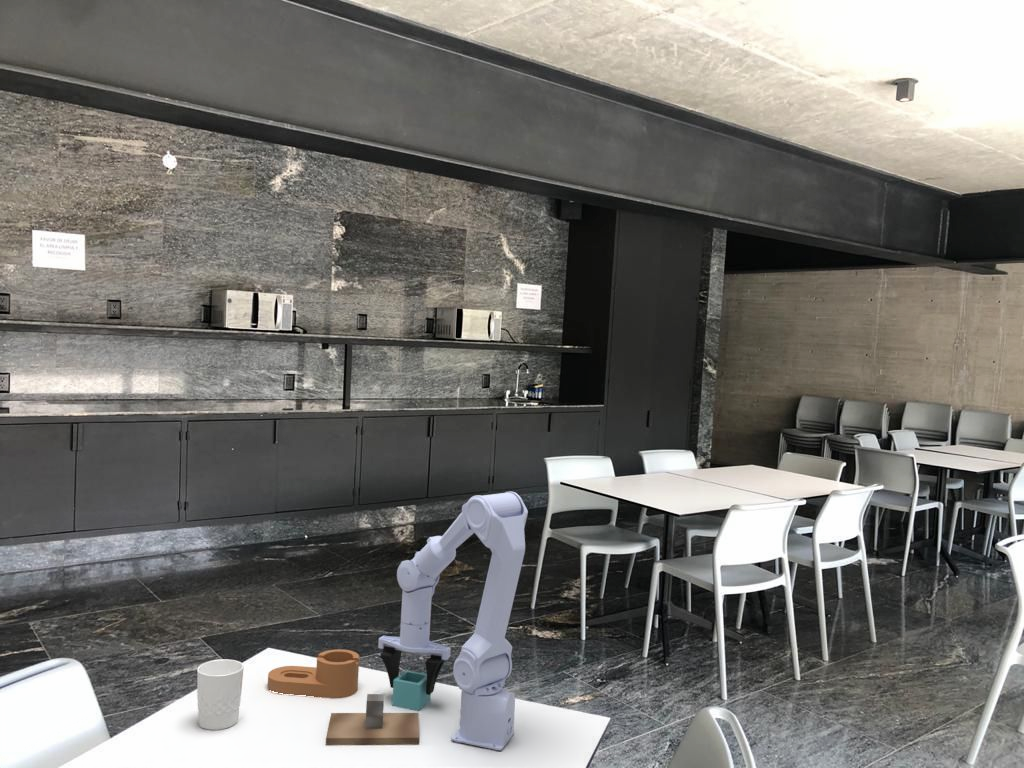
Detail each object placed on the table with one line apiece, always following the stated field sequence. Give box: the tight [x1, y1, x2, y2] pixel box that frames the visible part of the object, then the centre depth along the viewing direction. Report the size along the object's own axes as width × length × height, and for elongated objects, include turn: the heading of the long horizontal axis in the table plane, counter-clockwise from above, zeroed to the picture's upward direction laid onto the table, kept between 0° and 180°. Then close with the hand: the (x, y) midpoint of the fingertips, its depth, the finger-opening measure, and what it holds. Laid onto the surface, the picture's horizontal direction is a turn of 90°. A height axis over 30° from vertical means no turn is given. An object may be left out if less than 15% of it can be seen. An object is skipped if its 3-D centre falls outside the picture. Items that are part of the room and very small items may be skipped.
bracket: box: [267, 648, 360, 699], centre depth 165 cm, size 18×8×7 cm, turn 87°
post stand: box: [325, 693, 420, 746], centre depth 147 cm, size 16×10×6 cm, turn 97°
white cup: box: [196, 658, 245, 731], centre depth 147 cm, size 8×8×10 cm
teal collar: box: [391, 670, 432, 712], centre depth 160 cm, size 6×6×5 cm
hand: (411, 689), depth 160 cm, fingers open, 7 cm apart
